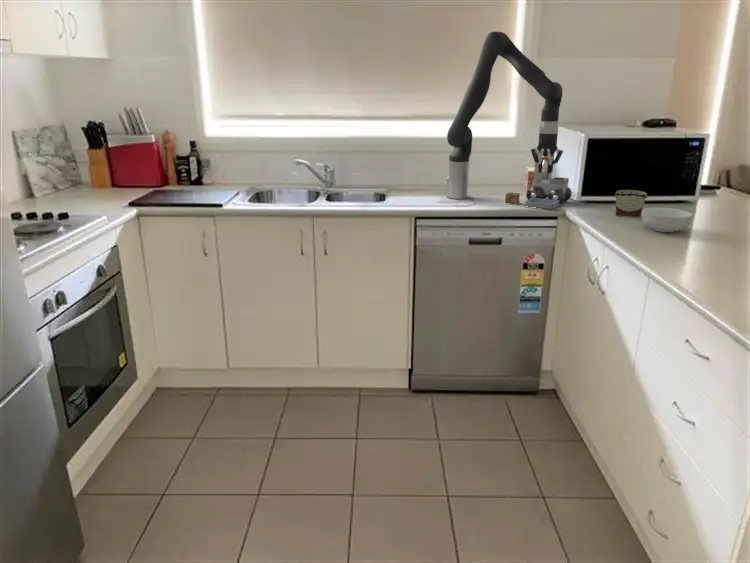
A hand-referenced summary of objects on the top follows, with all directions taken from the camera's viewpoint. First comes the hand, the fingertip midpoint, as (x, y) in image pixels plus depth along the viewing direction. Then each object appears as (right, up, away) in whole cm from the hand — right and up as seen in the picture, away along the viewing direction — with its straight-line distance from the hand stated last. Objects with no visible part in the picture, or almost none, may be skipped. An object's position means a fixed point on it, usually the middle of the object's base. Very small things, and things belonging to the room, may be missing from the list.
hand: (545, 172), depth 251 cm
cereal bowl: (+34, -28, -34) cm, 56 cm away
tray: (0, -14, +5) cm, 15 cm away
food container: (+31, -20, -11) cm, 38 cm away
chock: (-11, -12, +13) cm, 21 cm away
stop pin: (0, -3, +1) cm, 3 cm away
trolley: (+6, -11, +14) cm, 19 cm away
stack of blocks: (+4, -3, +36) cm, 37 cm away
